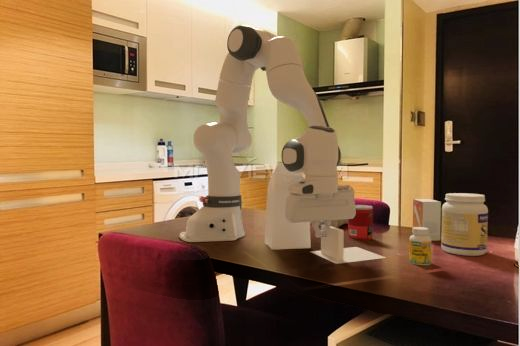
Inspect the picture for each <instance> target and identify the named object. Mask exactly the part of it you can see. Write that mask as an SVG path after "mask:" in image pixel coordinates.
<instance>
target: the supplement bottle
mask: <svg viewBox="0 0 520 346" xmlns="http://www.w3.org/2000/svg"><path fill="white" fill-rule="evenodd" d="M411 232H412V233H411V234H412V235H410V236H409V242H408V244H409V245H408V247H409V248H408V249H409V251H408V255H409V256H408V257H409V258H408V261H409V263H410V264H413V265H417V266H419V265H420V266H430V265H431V264H432V241H431V238H430V237H429V236H427V234H428V233H429V229H428V228H425V227H413V226H412V229H411Z"/></svg>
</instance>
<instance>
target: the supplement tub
mask: <svg viewBox="0 0 520 346" xmlns="http://www.w3.org/2000/svg"><path fill="white" fill-rule="evenodd" d="M444 200H445V201H446V202H444V203H443V204H442V205H441V233H440V241H441V243H440V245H441V246H440V247H441V249H442V250H443V251H444V252H446V253H449V254H452V255H458V256H466V257H469V256H470V257H476V256H477V257H478V256H483V255H485V254H486V252H487V251H488V225H489V223H488V221H489V219H488V218H489V209H488V206H487V205H486V204H484V203H485V202H486V196H485V194H479V193H467V192H466V193H465V192H463V193H462V192H459V193H458V192H457V193H456V192H453V193H451V192H449V193H446V194H445V198H444Z"/></svg>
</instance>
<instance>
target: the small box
mask: <svg viewBox="0 0 520 346" xmlns="http://www.w3.org/2000/svg"><path fill="white" fill-rule="evenodd" d="M441 224H442V201H438V200H435V199H431V198H413V199H412V228H413V227H425V228H428V229H429V233H428V234H427V236H429V237H430V238H431V242H432V241H435V242H436V241H438V242H439V241H441Z"/></svg>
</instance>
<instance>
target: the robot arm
mask: <svg viewBox="0 0 520 346" xmlns="http://www.w3.org/2000/svg"><path fill="white" fill-rule="evenodd" d="M226 42H227V45H226V46H227V50H228V51H227V54H226V56H225V59H224V62H223V64H222V67H221V71H220V74H219V79H218V84H217V89H216V94H215V99H214V102H215V106H216V108H217V109H218V112H219V122H214V121H213V122H208V123H203V124H201V125H199V126H198V127H197V128H195V131H194V134H193V144H194V146H195V148H196V150H198V151H199V153H200V154H201V156H202V158H203V161H204V163H205V167H206V171H207V186H208V187H207V190H208V191H207V192H208V193H207V194H208V195H206V196H203V195H201V196H199V201H200V202H201V203H202V207H201V208H199V209H198V210H197V211H196V212H195V213H193V214H192V215H191V216H189V217H188V219H187V221H186V227H185V231H181V232H180V233H179V238H180V240H182V241H184V242H188V243H201V242H202V243H204V242H226V241H228V242H229V241H236V240H237V239H240V238H243V237H245V235H246V234H245V231H244V226H243V219H242V207H243V201H242V195H241V173H240V170H239V169H238V168H237V167H236V165H235V162H234V159H233V156H238V155H241V154H243V153H245V152H247V151H248V150H249V149H250V147H252V146H251V145H252V141H253V138H252V133H251V132H250V130H249V126H248V106H249V101H250V94H251V90H252V84H253V79H254V76H255V75H254V74H255V73H256V71H257V70H258V69H260V70H261V71H262V72H265V73H266V79H267V85H268V89H269V91H270V92H271V96H273V97H274V98H275V99H276V100H278V101H279V102H280V103H283V104H285V105H287V106H289V107H292V108H293V109H295V110H297V112H299V113H301V114H302V116H303V117H304V118H305V120H306V123H307V125H308V127H307V129H306V130H305V132H304V133H303V134H301V135H300V136H297V137H295V138H293V139H289V140H288V141H286V143H285V144H284V145H283V147H282V150H281V162H283V165H284V167H285V168H286V169H287V170H288V171H290V172H295V173H305V174H304V180H301V181H299V182H296V183H294V184H291V185H289V186H288V191H289V193H291V194H290V195H288V197H287V200H286V207H285V217H286V219H287V221H289V222H292V223H299V222H310V226H312V229H314V236H315V238H321V237H327V231H328V229H329V228H330V226H331V220H340V219H353V218H354V217H355V215H356V209H355V205H356V201H355V189H354V188H353V187H352V186H350V185H349V184H345V185H339V172H338V169H337V168H338V167H339V164H340V162H341V160H342V159H341V158H342V153H341V148H340V147H339V142H338V135H337V132H336V130H335V129H334V128H332V127H330V123H329V122H328V119H327V117H326V113H325V110H324V108H323V105H322V103H321V101H320V97H319V96H318V94H317V92H315V91H314V89H313V88H312V86H311V85H310V83H309V81H308V80H307V77H306V75H305V71H304V67H303V63H302V60H301V57H300V54H299V50H298V47H297V46H296V43H295V41H294V40H293V39H292V38H290V37H288V36H278V35H276V34H274V33H272V32H270V31H267V30H264V29H260V28H255V27H252V26H250V25H246V24H243V25H241V24H240V25H236V26H235V27H234V28H232V30H231V31H230V32H229V34H228V38H227V41H226ZM319 221H323V223H324V226H323V229H322V230H321V228H319V226H318V225H319Z"/></svg>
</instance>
